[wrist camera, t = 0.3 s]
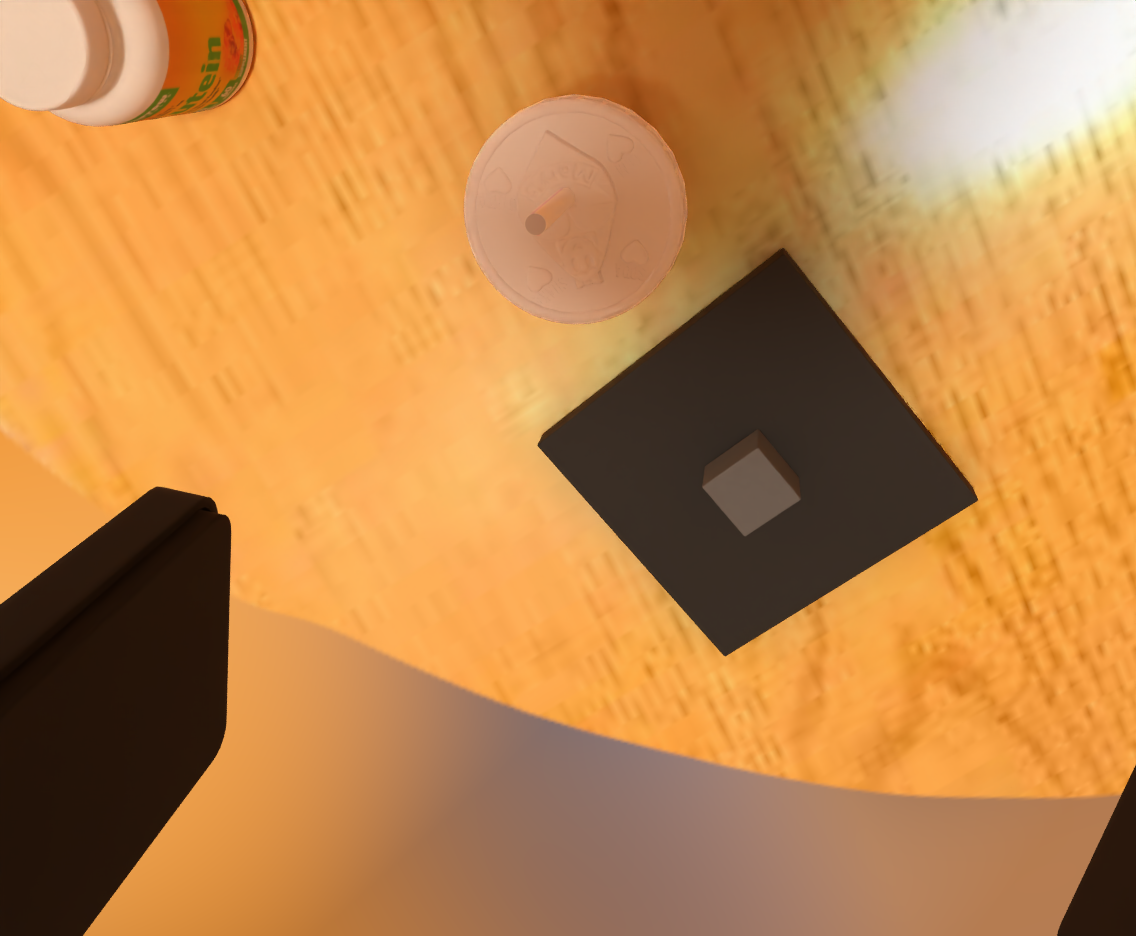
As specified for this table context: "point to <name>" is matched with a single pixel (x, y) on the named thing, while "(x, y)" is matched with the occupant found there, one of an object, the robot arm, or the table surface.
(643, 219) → the smoothie
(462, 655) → the table surface
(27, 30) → the supplement bottle
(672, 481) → the base pad
